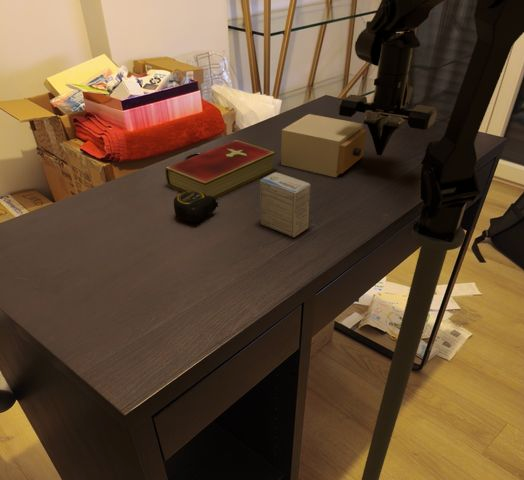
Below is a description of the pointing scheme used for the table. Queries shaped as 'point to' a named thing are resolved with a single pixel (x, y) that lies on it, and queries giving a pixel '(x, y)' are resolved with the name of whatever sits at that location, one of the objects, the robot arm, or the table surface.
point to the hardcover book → (220, 169)
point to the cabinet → (316, 143)
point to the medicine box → (284, 203)
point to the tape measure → (193, 205)
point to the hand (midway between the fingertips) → (379, 154)
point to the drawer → (351, 150)
